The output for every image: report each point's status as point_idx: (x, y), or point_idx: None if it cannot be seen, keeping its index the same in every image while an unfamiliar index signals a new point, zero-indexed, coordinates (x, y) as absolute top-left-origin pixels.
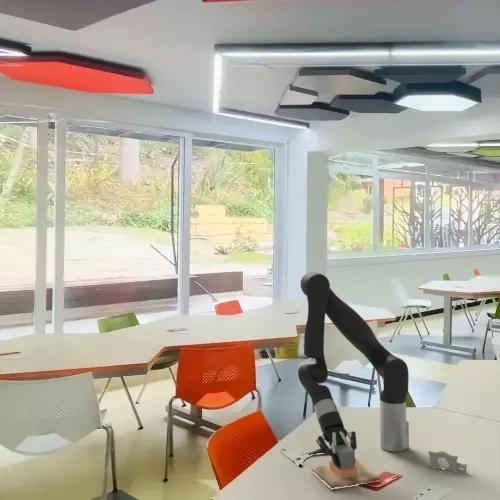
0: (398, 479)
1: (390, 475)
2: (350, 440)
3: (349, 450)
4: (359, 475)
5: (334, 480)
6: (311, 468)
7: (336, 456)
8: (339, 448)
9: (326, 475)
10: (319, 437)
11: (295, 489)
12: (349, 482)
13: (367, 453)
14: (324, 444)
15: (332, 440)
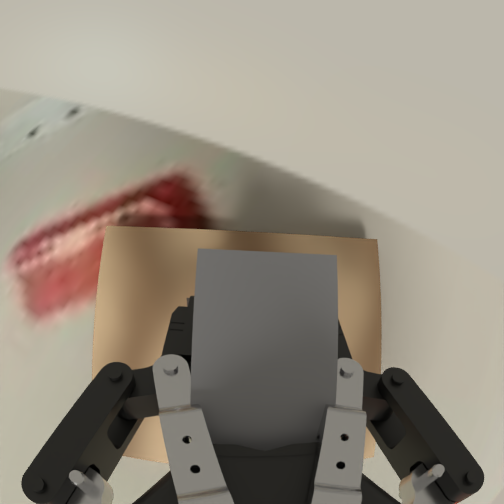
0: (42, 226)
1: (40, 272)
2: (104, 475)
3: (243, 272)
4: (186, 282)
5: (342, 281)
6: (372, 454)
7: None
8: (311, 359)
9: (352, 351)
10: (475, 478)
11: (471, 311)
12: (280, 234)
13: (23, 493)
14: (433, 424)
15: (363, 454)
